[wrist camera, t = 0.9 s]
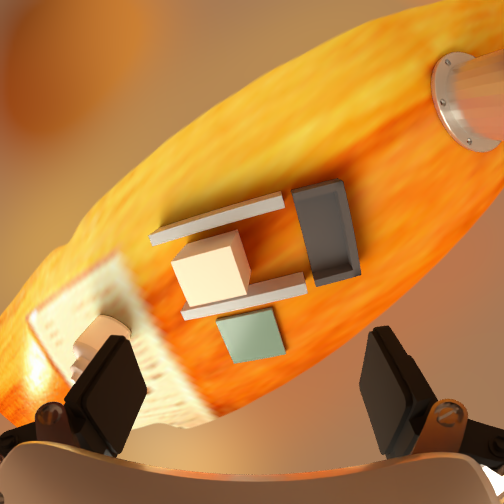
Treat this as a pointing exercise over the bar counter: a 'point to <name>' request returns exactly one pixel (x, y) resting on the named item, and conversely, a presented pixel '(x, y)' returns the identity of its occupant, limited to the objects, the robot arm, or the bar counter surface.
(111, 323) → the eye dropper bottle
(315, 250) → the tray
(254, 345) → the green coaster
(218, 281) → the cream block
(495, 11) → the bar counter surface
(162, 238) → the channel
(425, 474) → the robot arm
